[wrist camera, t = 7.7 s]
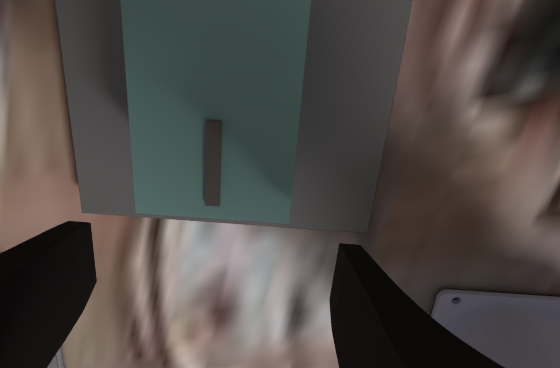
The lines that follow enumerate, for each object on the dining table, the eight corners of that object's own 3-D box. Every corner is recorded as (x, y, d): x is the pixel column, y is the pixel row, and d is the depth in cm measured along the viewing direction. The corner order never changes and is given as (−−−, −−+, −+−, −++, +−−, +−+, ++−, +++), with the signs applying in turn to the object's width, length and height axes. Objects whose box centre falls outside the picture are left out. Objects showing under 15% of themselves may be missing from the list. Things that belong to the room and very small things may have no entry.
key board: (419, -94, 16) (472, -127, 12) (362, 218, 22) (382, 276, 18) (57, -129, 16) (-31, -177, 12) (94, 198, 22) (45, 253, 17)
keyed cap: (304, -16, 16) (313, -20, 12) (286, 170, 20) (288, 226, 15) (163, -28, 16) (115, -37, 11) (169, 161, 19) (133, 215, 15)
